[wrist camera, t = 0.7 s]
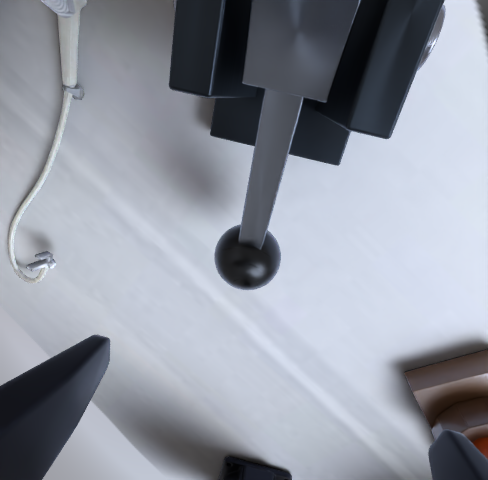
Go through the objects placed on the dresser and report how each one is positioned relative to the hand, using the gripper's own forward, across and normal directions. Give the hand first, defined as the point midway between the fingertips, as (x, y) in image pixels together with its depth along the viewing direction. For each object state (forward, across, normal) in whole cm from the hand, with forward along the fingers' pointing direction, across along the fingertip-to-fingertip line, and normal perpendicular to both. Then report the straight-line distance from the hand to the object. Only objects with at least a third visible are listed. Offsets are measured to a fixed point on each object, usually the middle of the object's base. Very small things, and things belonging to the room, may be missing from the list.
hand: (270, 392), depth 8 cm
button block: (+12, -17, +10) cm, 24 cm away
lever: (+7, +2, -5) cm, 9 cm away
